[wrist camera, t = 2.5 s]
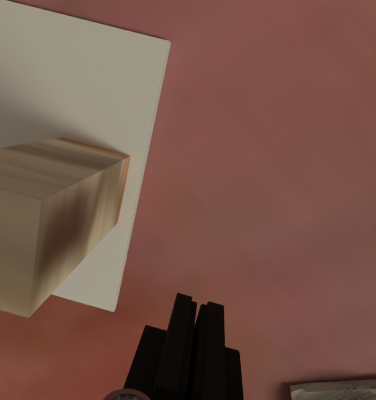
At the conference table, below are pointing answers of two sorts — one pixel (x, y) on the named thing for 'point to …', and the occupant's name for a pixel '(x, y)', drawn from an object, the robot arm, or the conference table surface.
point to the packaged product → (335, 390)
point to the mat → (83, 113)
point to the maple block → (53, 214)
